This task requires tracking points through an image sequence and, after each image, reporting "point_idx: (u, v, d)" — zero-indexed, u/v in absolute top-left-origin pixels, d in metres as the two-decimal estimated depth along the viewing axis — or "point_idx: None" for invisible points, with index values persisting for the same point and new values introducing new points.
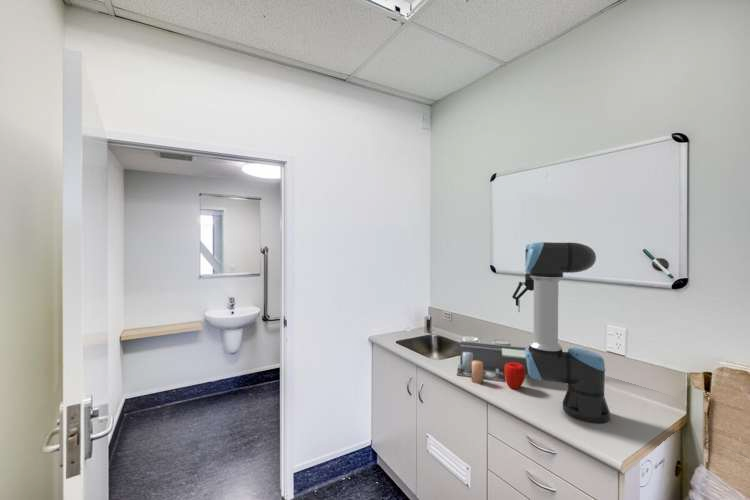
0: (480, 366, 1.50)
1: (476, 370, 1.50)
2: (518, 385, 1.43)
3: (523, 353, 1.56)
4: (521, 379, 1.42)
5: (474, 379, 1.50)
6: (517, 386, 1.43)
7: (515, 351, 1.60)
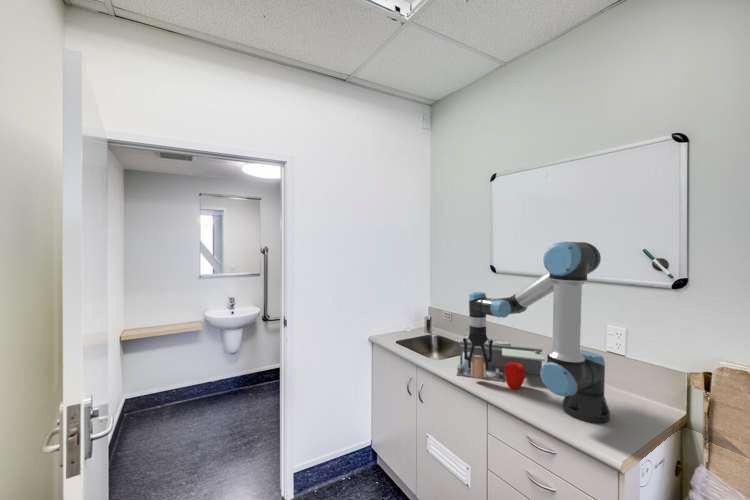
0: (481, 360, 1.49)
1: (477, 364, 1.49)
2: (518, 385, 1.43)
3: (523, 353, 1.56)
4: (521, 379, 1.42)
5: (475, 374, 1.50)
6: (517, 386, 1.43)
7: (515, 351, 1.60)
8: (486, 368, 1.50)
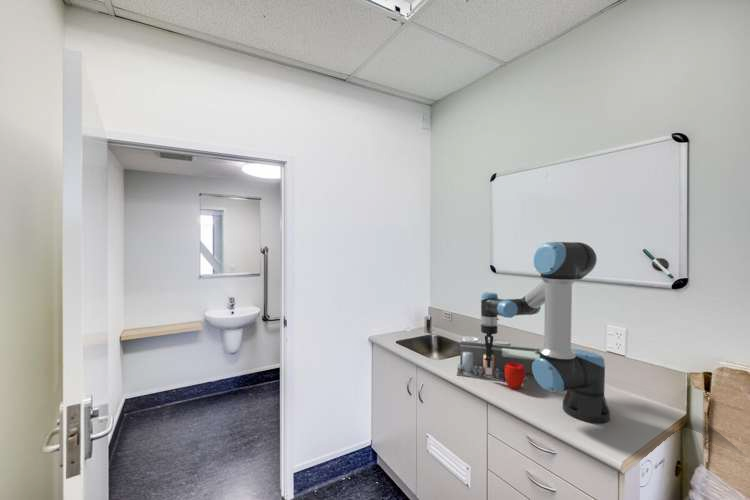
0: (484, 358, 1.58)
1: (483, 361, 1.60)
2: (518, 385, 1.43)
3: (523, 353, 1.56)
4: (521, 379, 1.42)
5: None
6: (517, 386, 1.43)
7: (515, 351, 1.60)
8: (487, 366, 1.52)
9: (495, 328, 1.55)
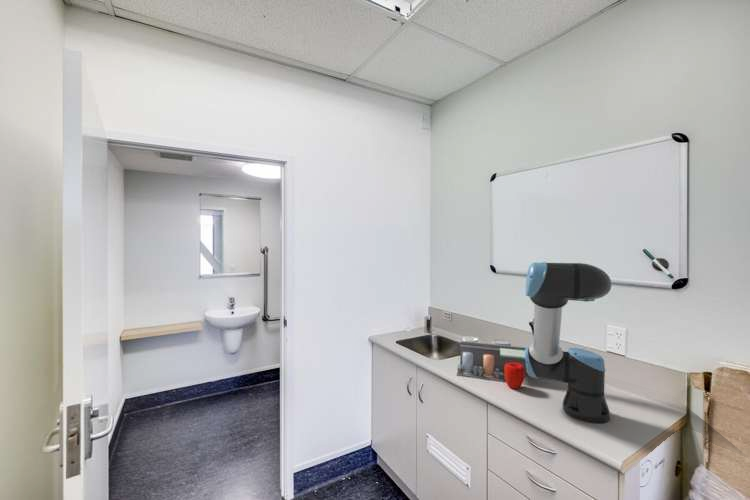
0: (484, 358, 1.58)
1: (483, 361, 1.60)
2: (518, 385, 1.43)
3: (521, 353, 1.57)
4: (521, 379, 1.42)
5: None
6: (517, 386, 1.43)
7: (513, 351, 1.60)
8: None
9: None
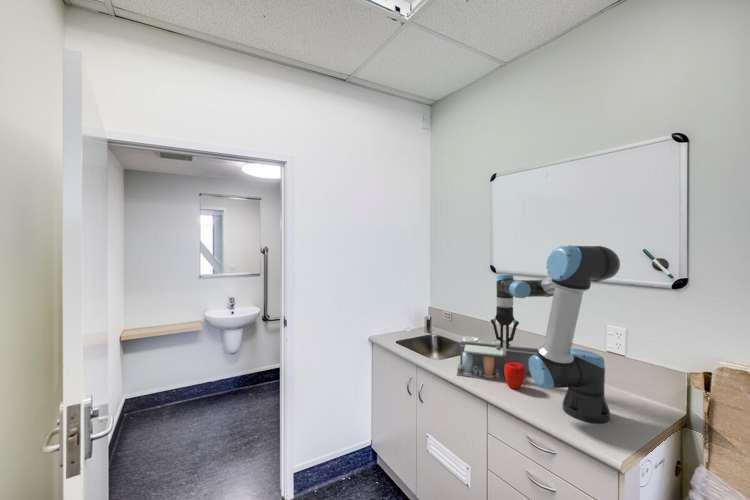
0: (484, 358, 1.58)
1: (483, 361, 1.60)
2: (518, 385, 1.43)
3: (484, 349, 1.63)
4: (521, 379, 1.42)
5: None
6: (517, 386, 1.43)
7: (477, 347, 1.66)
8: (507, 347, 1.56)
9: None
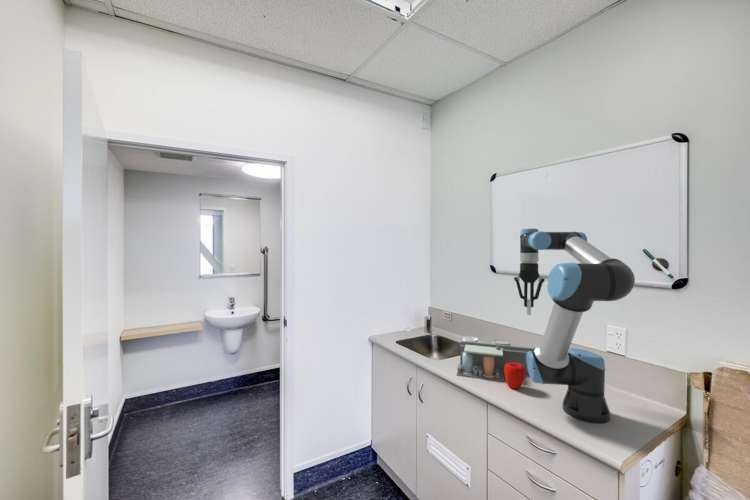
0: (484, 358, 1.58)
1: (483, 361, 1.60)
2: (518, 385, 1.43)
3: (484, 349, 1.63)
4: (521, 379, 1.42)
5: None
6: (517, 386, 1.43)
7: (477, 347, 1.66)
8: (531, 306, 1.47)
9: None
